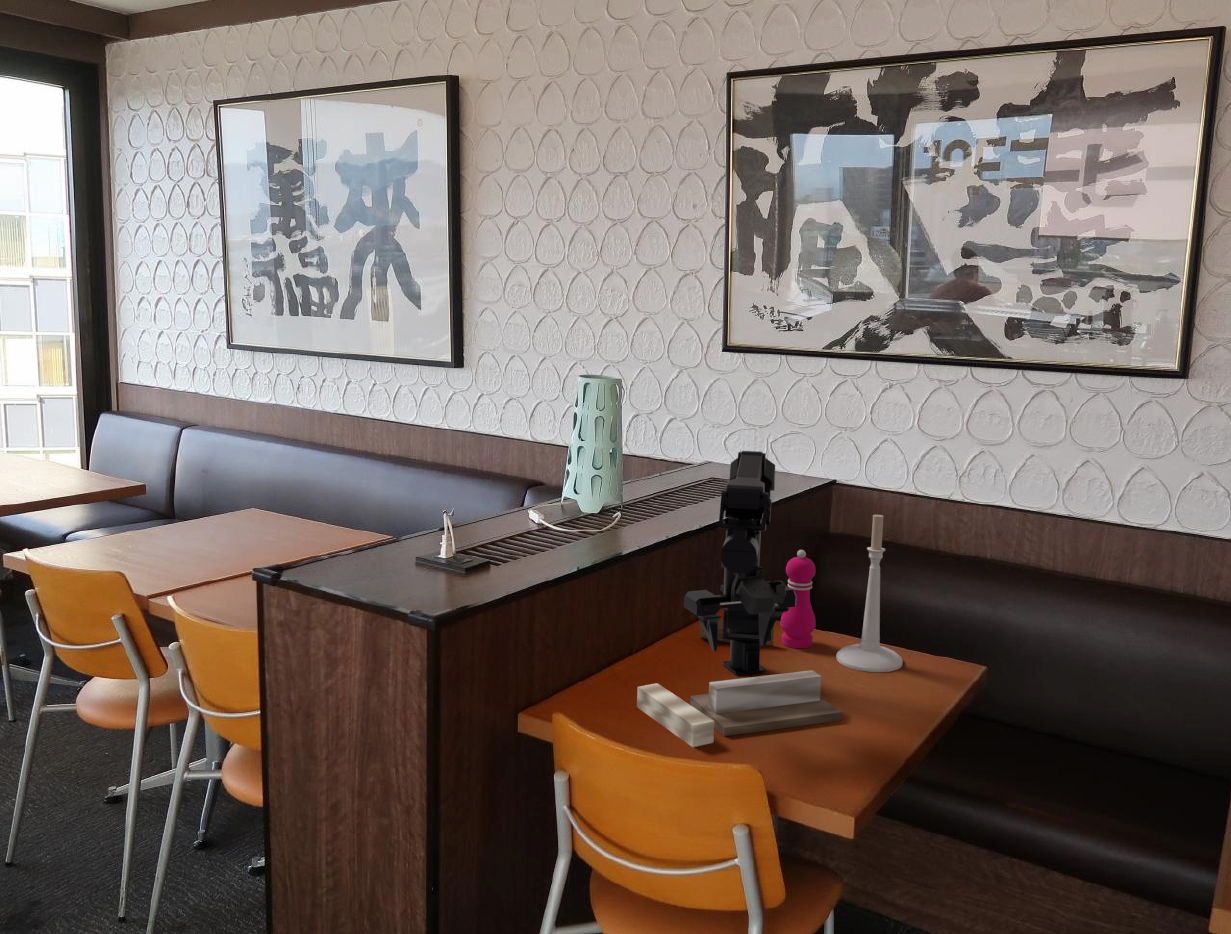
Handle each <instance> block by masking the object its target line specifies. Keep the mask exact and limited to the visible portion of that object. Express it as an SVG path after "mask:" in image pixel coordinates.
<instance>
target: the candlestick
mask: <svg viewBox="0 0 1231 934" xmlns="http://www.w3.org/2000/svg"><path fill="white" fill-rule="evenodd" d="M883 530H884V515H882V514H879V513H877V514H873V515H872V528H871V541H870V544H871V546H868V547H866V549H867V551H868V558H869V559H870V566H869V573H868V582H867V589H866V596H865V597H866V599H865V606H864V607H865V608H864V613H863V614H864V615H863V624H862V630H861V631H862V632H861V640H860V643H856V644H851V645H846V646H844V647H842V648H840V649H839V650H838V651H836V652H837V653H836V655H835V656H836V657H835V658H836V661H837V662H839V664H840V665H842V666H845V667H847V668H849V669H853V670H856V671H862V672H867V673H889V672H893V671H896V670H899V669H901V668H902V666H903V661H904V660H903V658H902V657H901V656H900V655H899V653H897V652H896V651H894V650H892V649H890V648H888V647H886V646H882V645H881V643H880V640H881V638H880V637H881V636H880V631H881V630H880V623H881V622H880V621H881V617H880V614H881V609H880V608H881V605H880V604H881V594H880V593H881V567H880V563H881V560H882V559H883V557H884V556H883V553H884V552H886V548H884V547H882V545H883V532H884V531H883Z"/></svg>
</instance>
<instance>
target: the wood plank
mask: <svg viewBox="0 0 1231 934" xmlns="http://www.w3.org/2000/svg"><path fill="white" fill-rule="evenodd" d="M698 619H699V618H698ZM698 626H699V627H698V633H699V636H698V637H700V638H699V639H706V640H708V638H707V636H706V633H705V630H704V628H703V625H702V623H701V621H700V619H699V625H698ZM728 629H729V628H728ZM774 633H775V625H774V626H773V628H772V630H771V640H770V641H767V643H766V644H765V646H774V637H775V636H774ZM722 641H723V643H731V640H727V639H726V640H723V619H720V620H719V621H718V642H722Z"/></svg>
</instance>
